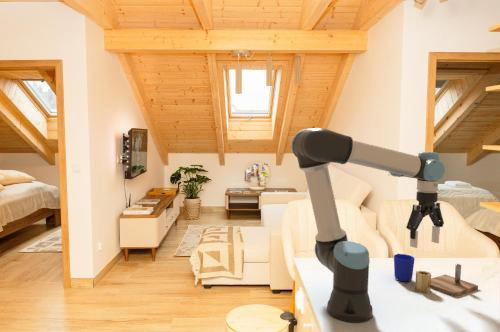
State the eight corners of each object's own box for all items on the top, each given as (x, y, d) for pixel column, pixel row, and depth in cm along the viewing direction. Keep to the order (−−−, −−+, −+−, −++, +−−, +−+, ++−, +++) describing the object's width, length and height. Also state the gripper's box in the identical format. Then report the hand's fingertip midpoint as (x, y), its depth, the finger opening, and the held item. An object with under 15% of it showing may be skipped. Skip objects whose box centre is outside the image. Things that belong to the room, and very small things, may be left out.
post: (458, 285, 153) (459, 266, 152) (452, 283, 155) (453, 264, 154) (462, 284, 154) (463, 265, 153) (456, 282, 156) (457, 263, 156)
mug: (407, 273, 170) (408, 251, 169) (416, 283, 158) (417, 260, 157) (388, 272, 171) (389, 251, 170) (395, 282, 159) (396, 259, 158)
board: (454, 296, 145) (454, 293, 145) (421, 284, 157) (422, 281, 157) (477, 289, 153) (478, 285, 153) (445, 277, 165) (445, 274, 165)
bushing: (424, 293, 148) (425, 276, 147) (412, 289, 152) (413, 272, 152) (432, 291, 150) (433, 274, 150) (421, 286, 155) (421, 270, 154)
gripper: (415, 194, 139) (412, 251, 141) (455, 190, 152) (452, 242, 153) (398, 192, 146) (395, 246, 147) (437, 188, 158) (435, 238, 160)
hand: (424, 244), depth 150 cm, fingers open, 13 cm apart
